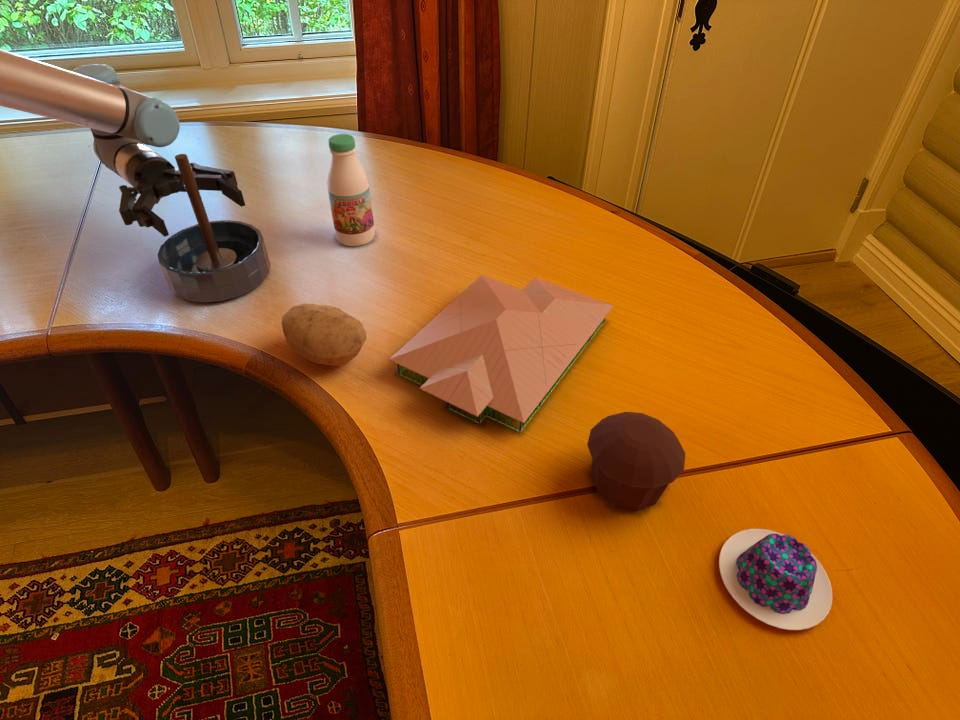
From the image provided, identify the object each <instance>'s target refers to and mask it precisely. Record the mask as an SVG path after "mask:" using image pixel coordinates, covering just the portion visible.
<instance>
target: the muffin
mask: <svg viewBox="0 0 960 720" xmlns="http://www.w3.org/2000/svg"><path fill="white" fill-rule="evenodd" d="M589 431H590V432H589V436H588V440H587V445H586V446H587V448H588V451H589V454H590V456H591V472H592V473H591V475H592V478H593V481H594V483H595V487H596V493H597V494H598V495H600V496H601V497H603V499H606V500H607V502H608V503H610V505H611V506H612V507H614V508H621V509H626V510H629V511H634V512H638V511H641V510H642V509H644V508H646V507H649V506H653V505H656V504H657V503H658V501H659V500H660V498H661V496H662V495H663V494H664V492H665V491H666V489H667V487H668V486H669V485H670V484H672V483H674V482H675V480H677V478H678V477H679V476H680V475H681V474H682V472H684V471H685V465H686V464H685V463H686V452H685V450H684V448H683V445H682V444H681V442H680V440H679V438H678V437H677V435H676V434H675V432H674V431H673V430H672V429H671V428H669V426H667V425H666V424H665V423H663V422H662V421H661V420H660V419H658V418H656V417H653V416H650V415H649V414H645V413H644V412H634V411H622V412H619V413H615V414H610V415H607V416H605V417H604V418H602V419H600V420H599V422H597V423H596V424H595V425H594V426H593V427H592V428H591V429H590V430H589Z"/></svg>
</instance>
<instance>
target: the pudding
mask: <svg viewBox="0 0 960 720" xmlns="http://www.w3.org/2000/svg"><path fill="white" fill-rule="evenodd" d="M718 565H719V566H718V567H719V572H720V573H719V574H720V577H721V579H722V582H723V585H724V586H725V588H726V590H727V592H728V593H729V594H730V596H731V597H732V598H733V599H734V601H735V602H736V603H737V604H738V605H739V606H740V607H741V608H742V609H743V610H744V611H745V612H747V613H748V614H750V615H751V616H752V617H754V618H755V619H757V620H759V621H760V622H762V623H764V624H766V625H769V626H771V627H775V628H777V629H782V630H789V631H802V630H807V629H810V628H813V627H815V626H817V625H819V624H820V623H822V622H823V621H824V620H825V619H826V617H827V616H828V615H829V613H830V611H831V608H832V604H833V587H832V585H831V584H832V583H831V580H830V578H829V576H828V574H827V572H826V570H825V568H824V567H823V565H822V563H821V562H820V561H819V560H818V559H817V557H816V556H815V555H814V554H813V553H812V551H811V550H810V548H809V547H808V546H807V544H805V543H804V542H800V541H798V540H797V538H796V537H794V536H792V535H790V534H783V533H781V532H778V531H775V530H771V529H765V528H750V529H749V528H748V529H743V530H741V531H738V532H736V533H734V534H732V535H731V536H730V537H728V539H727V540H725V542H724V543H723V544H722V547H721V550H720V553H719V557H718Z"/></svg>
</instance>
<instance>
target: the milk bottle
mask: <svg viewBox="0 0 960 720" xmlns="http://www.w3.org/2000/svg"><path fill="white" fill-rule="evenodd" d="M327 144H328V148H329V153H330V154H331V161H330V165H329V170H328V172H327V177H326V179H327V180H326V183H327V184H326V185H327V191H328V192H327V193H328V194H327V195H328V199H329V206H330V211H331V217H332V221H333V222H332V223H333V228H334V234H335V239H336V240H337V241H338V242H339V243H340V244H341V245H344V246H347V247H359V246H364V245H366V244H369V243H370V242H371V241H373V240H374V238H375V236H376V235H375V234H376V229H375V220H374V213H373V205H372V198H371V190H370V184H369V180H368V176H367V173H366V171H365V169H364V168H363V166H362V165H361V163H360V161H359V160H358V158H357V154H356V150H357V148H356V140H355V138H354V136H353V135H351V134H347V133H339V134H333V135H332V136H330V137H329V138H328V140H327Z"/></svg>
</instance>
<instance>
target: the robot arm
mask: <svg viewBox="0 0 960 720" xmlns="http://www.w3.org/2000/svg"><path fill="white" fill-rule="evenodd" d="M0 107H2V108H7V109H11V110H16V111H20V112H23V113H28V114H31V115H36V116H39V117H44V118H47V119H52V120H55V121H61V122H64V123H67V124H73V125H77V126H81V127H84V128H88V129H90V131H91V134H92V137H93V144H92V145H93V148H92V149H93V151H94V154H95V156H96V157H97V158H98V159H99V161H100V162H101V163H102V165H104V166H105V168H107V169H108V170H110V171H112V172H113V173H114V174H115V175H117V176H118V177H119V178H121V179H122V180H124V181H125V182H126V183H128V184H129V185H131V186H128V185H126V184H122V185H120V186H118V187H119V188H118V189H119V191H120V193H121V197H120V202H119V203H120V204H119V207H118V212H119V215H120V217H121V219H122V221H123V223H124V225H125V226H131V225H133V223H134V222H137V224H138V227H140V228H142V227H145V228H150V227H152V228H153V229H154V230H156V231H157V232H158V233H159V234H161V235H162V236H163V237H168V236H170V233H169V231H168V228H167V226H166V223H165V221H164V219H163V218H161V217H160V216H159V215H158V214H156V213H155V212H154V211H153V208H154V206H155V205H158V204H159V202H160V201H161V199H163V198H167V197H168V196H170V195H173V194H178V193H187V191H186V188H185V185H184V182H183V179H182V177H181V174H180V171H179V168H176V167H175V166H174V165H173V163H171V162H170V161H169V160H167V159H166V158H164V156H162V155H160V154H159V153H158V152H156V151H154V150H153V149H152V148H150V147H148V146H152V147H154V148H166V147H168V146H171V145H172V144H173V143H174V142H175V141H176V139H177V138H178V136H179V134H180V133H179V132H180V128H181V127H180V126H181V123H180V119H179V116H178V114H177V113H176V110H174V108H173V107H172V106H170V105H169V104H167V103H165V102H163V101H162V100H161V99H160V98H155V97H152V96H149V95H146V94H144V93H141V92H137V91H136V90H133V89H131V88H129V87H125V86H124V85H122V83H121V79H120V78H119V77H118V74H117V72H116V70H115V69H114V67H112V66H111V65H109V64H104V63H91V64H84V65H81V66H78V67H75V68H73V69H72V70H67V69H64V68H61V67H59V66H56V65H52V64H49V63H46V62H42V61H40V60H36V59H33V58H30V57H27V56H24V55H21V54H17V53H14V52H11V51H8V50H6V49H5V50H4V49H1V48H0ZM189 163H190V166H191V169H192V172H193V175H194V178H195V181H196V184H197V187H198V190H199V191H214V192H221V194H222V195H223V196H224V197H226V198H228V199H230V201H232V202H233V203H235V204H237V205H238V206H239V207H241V208H242V207H245V206H246V201H245V197H244V195H243V193H242V190H241V189H239V187H238V185H239V183H238V180H237V176H236V173H235V171H234V170H230V169H229V170H228V169H222V168H216V167H212V166H204V165H200V164H198V163H195V162H189ZM138 195H139V196H138Z"/></svg>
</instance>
